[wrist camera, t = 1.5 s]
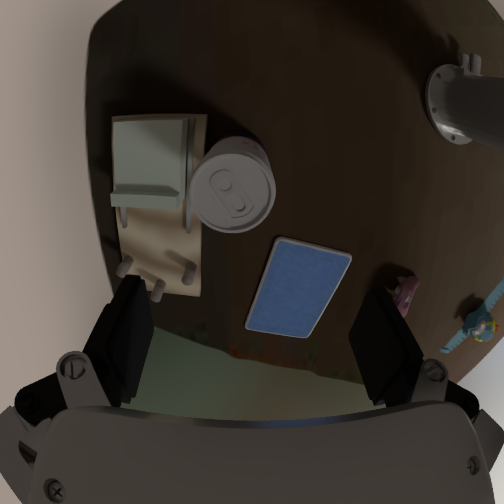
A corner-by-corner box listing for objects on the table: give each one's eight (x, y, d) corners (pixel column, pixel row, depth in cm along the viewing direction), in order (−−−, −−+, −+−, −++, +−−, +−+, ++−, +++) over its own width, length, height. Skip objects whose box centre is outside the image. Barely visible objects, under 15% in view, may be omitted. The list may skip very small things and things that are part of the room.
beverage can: (230, 189, 34) (219, 248, 22) (202, 148, 32) (169, 182, 19) (275, 164, 33) (292, 209, 20) (247, 120, 30) (246, 133, 17)
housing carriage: (124, 119, 28) (107, 123, 24) (188, 118, 28) (179, 121, 24) (126, 193, 33) (111, 206, 29) (185, 196, 33) (176, 210, 29)
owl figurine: (462, 375, 51) (439, 372, 48) (451, 353, 59) (427, 346, 56) (528, 301, 38) (517, 285, 35) (512, 282, 46) (496, 264, 43)
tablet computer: (306, 335, 50) (307, 340, 49) (243, 325, 48) (243, 330, 47) (352, 252, 40) (354, 256, 39) (275, 232, 38) (276, 237, 37)
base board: (116, 116, 28) (98, 119, 24) (207, 114, 29) (200, 116, 25) (129, 283, 42) (120, 301, 38) (200, 291, 43) (196, 311, 39)
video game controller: (399, 267, 43) (400, 287, 38) (420, 275, 42) (423, 297, 36) (379, 308, 48) (376, 331, 43) (398, 315, 47) (397, 339, 41)
